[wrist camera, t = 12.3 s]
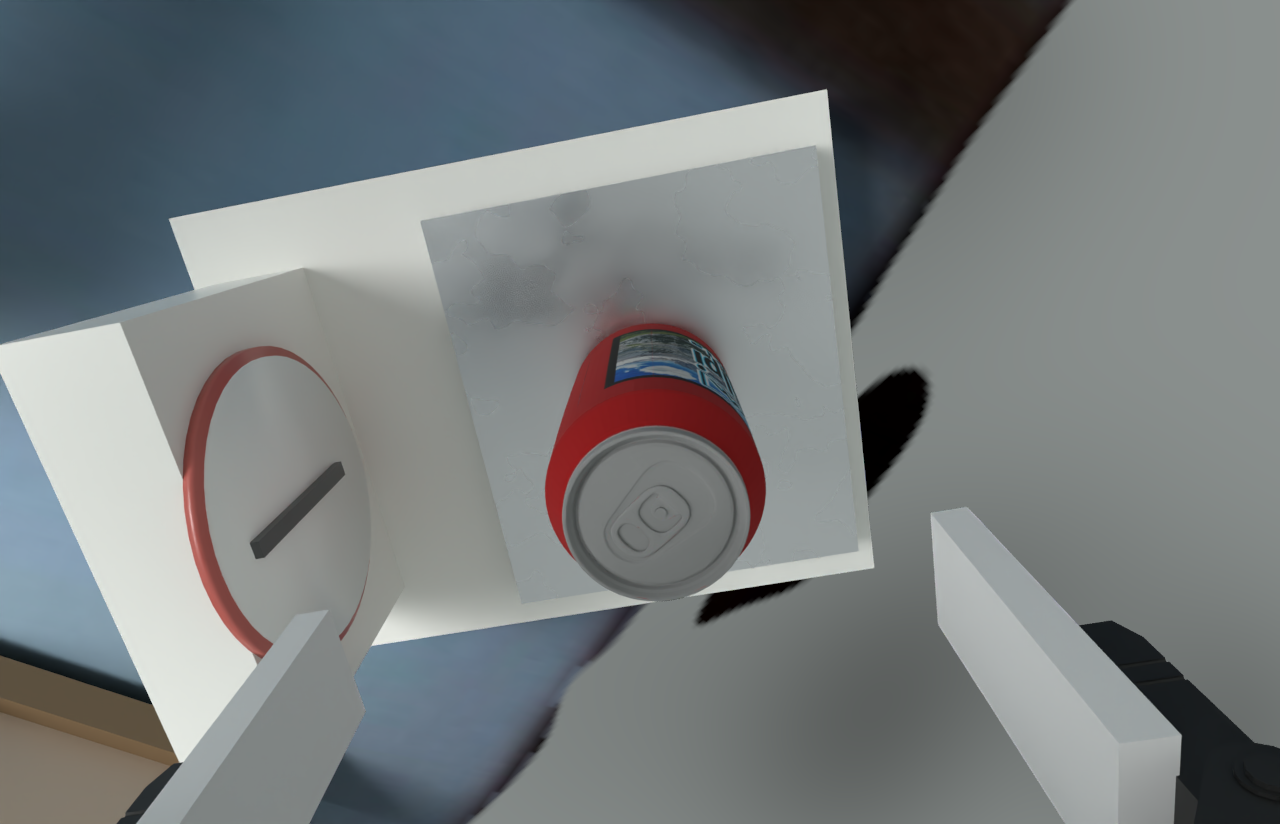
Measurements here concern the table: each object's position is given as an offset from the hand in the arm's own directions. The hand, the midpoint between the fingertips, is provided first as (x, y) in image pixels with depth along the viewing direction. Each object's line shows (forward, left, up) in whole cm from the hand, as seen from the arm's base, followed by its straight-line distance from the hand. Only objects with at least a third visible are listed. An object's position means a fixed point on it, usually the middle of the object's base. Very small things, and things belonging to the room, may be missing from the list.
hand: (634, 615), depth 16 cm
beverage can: (0, 0, -17) cm, 17 cm away
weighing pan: (+1, 0, -18) cm, 18 cm away
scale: (-4, 0, -23) cm, 23 cm away
